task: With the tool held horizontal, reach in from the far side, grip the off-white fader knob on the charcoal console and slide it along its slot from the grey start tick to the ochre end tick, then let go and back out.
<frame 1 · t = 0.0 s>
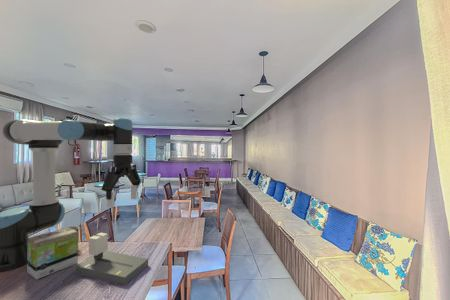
hand: (123, 202, 94), 28 cm above the table, tool pointing down, fingers open, 13 cm apart
fader knob: (98, 246, 94), point 8 cm above the table, slide at -8.0 cm
console: (113, 269, 92), on the table
coffee mug: (71, 247, 111), on the table
tea box: (53, 268, 93), on the table
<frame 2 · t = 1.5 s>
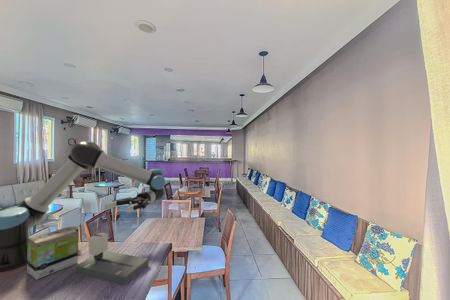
hand: (116, 208, 104), 23 cm above the table, tool horizontal, fingers open, 13 cm apart
nothing on the table moved.
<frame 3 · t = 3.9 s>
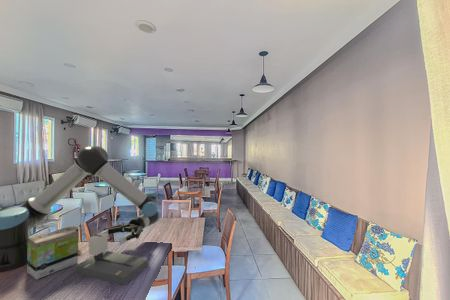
hand: (107, 239, 99), 10 cm above the table, tool horizontal, fingers open, 13 cm apart
nothing on the table moved.
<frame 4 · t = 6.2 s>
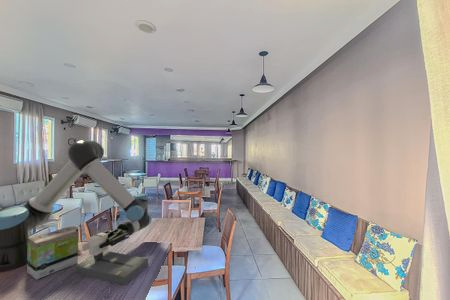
hand: (87, 249, 89), 10 cm above the table, tool horizontal, fingers closed on fader knob, 4 cm apart
fader knob: (98, 246, 95), point 8 cm above the table, slide at -8.0 cm, touching gripper
everything else where it was.
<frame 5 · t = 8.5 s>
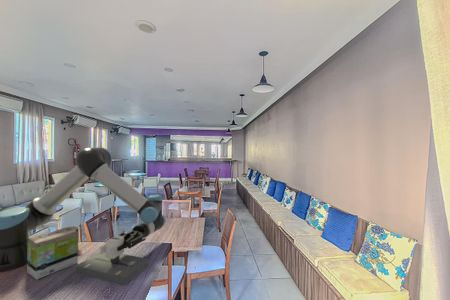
hand: (105, 251, 87), 10 cm above the table, tool horizontal, fingers closed on fader knob, 4 cm apart
fader knob: (115, 250, 92), point 8 cm above the table, slide at 1.0 cm, touching gripper
everything else where it was.
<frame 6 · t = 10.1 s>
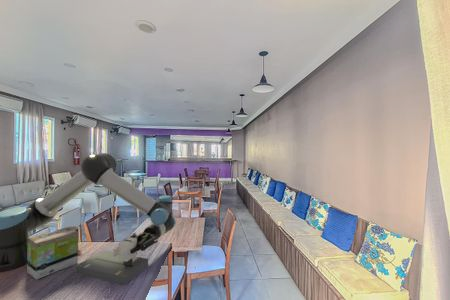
hand: (118, 254, 85), 10 cm above the table, tool horizontal, fingers closed on fader knob, 4 cm apart
fader knob: (128, 252, 90), point 8 cm above the table, slide at 7.8 cm, touching gripper
everything else where it was.
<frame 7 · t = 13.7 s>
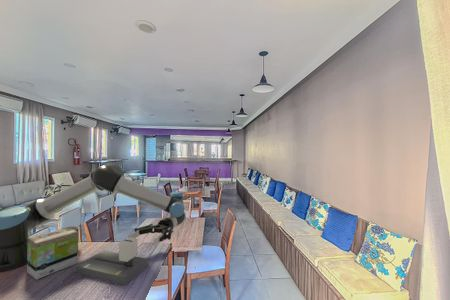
hand: (141, 240, 97), 10 cm above the table, tool horizontal, fingers open, 13 cm apart
fader knob: (128, 252, 90), point 8 cm above the table, slide at 8.0 cm
everything else where it was.
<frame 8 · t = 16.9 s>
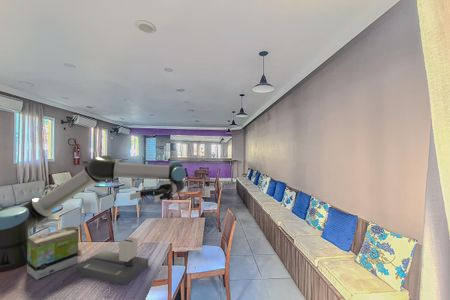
hand: (142, 198, 102), 28 cm above the table, tool horizontal, fingers open, 13 cm apart
nothing on the table moved.
at the end: fader knob slide at 8.0 cm; the gripper is holding nothing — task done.
